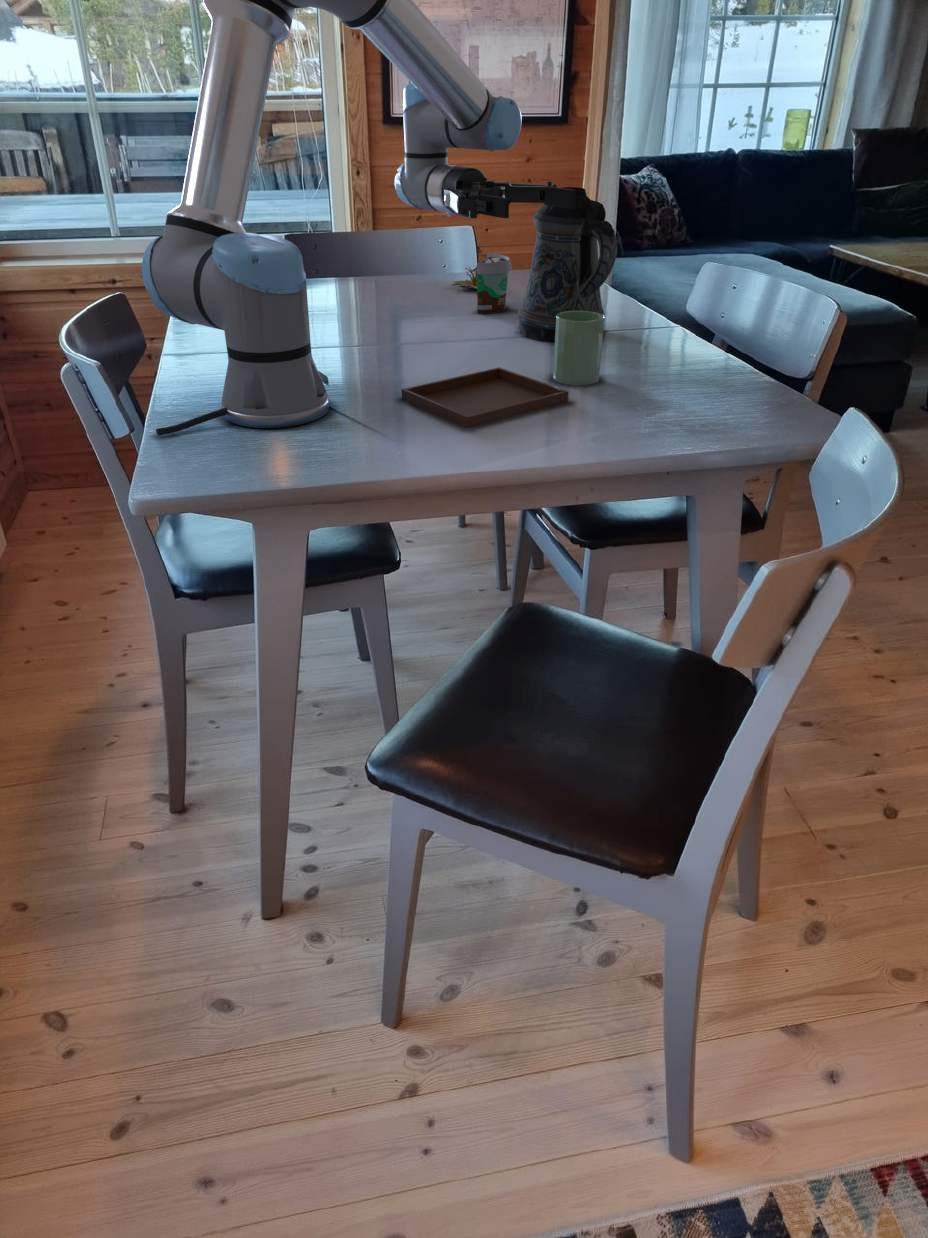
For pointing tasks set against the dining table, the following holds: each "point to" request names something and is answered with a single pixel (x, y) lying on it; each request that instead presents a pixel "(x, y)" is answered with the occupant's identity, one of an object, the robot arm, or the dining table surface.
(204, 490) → the dining table surface
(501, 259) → the food container
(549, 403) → the tray
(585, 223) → the beer stein
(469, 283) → the lily flower
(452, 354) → the dining table surface
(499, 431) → the dining table surface
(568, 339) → the cup
